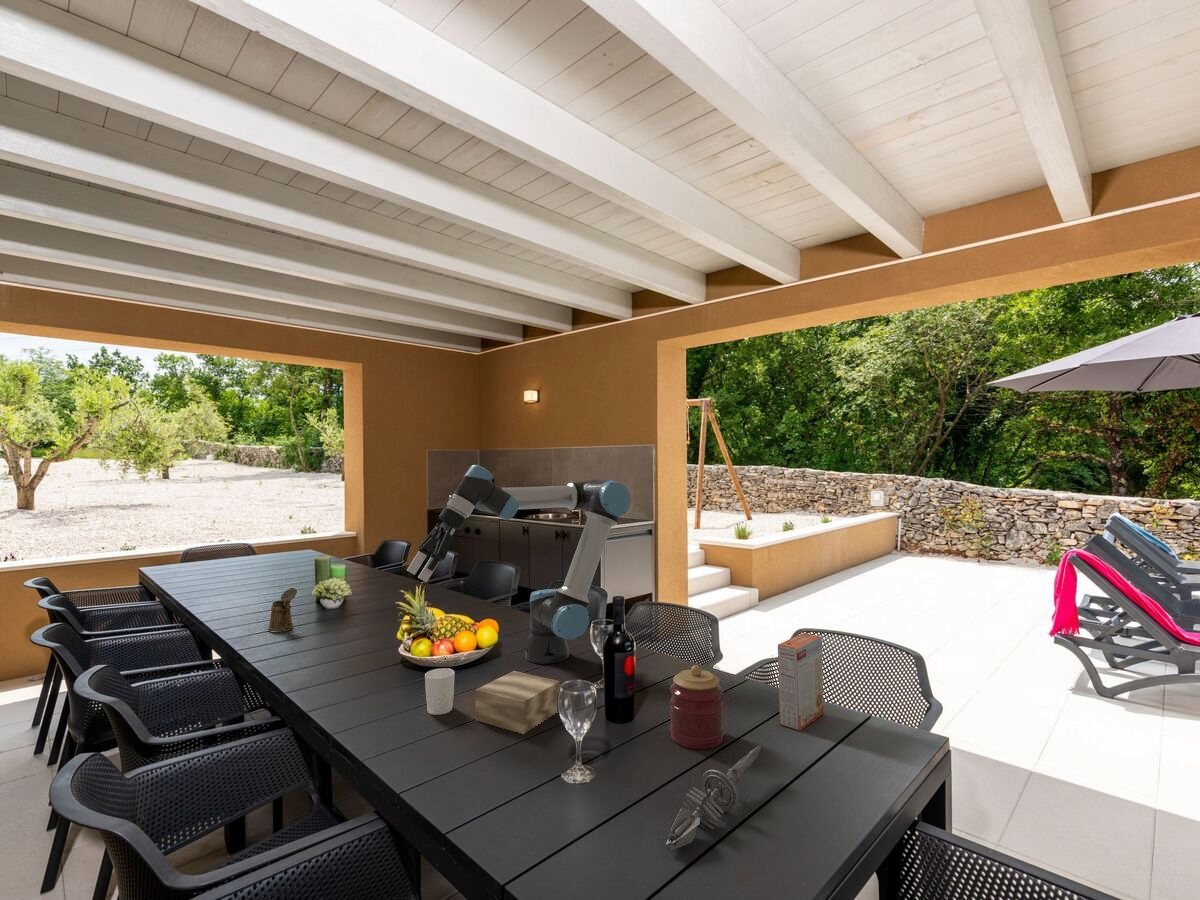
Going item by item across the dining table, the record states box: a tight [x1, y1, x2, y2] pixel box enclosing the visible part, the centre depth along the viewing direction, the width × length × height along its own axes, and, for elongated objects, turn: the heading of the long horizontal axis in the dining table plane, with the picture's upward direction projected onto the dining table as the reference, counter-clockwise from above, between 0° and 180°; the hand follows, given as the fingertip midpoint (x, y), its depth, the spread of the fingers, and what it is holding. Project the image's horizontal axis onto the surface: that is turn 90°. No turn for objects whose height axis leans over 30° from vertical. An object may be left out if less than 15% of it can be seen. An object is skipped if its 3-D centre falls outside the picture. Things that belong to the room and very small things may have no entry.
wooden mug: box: [267, 587, 298, 632], centre depth 240 cm, size 9×14×18 cm, turn 55°
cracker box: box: [777, 632, 825, 732], centre depth 155 cm, size 14×6×21 cm, turn 134°
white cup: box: [424, 667, 456, 716], centre depth 163 cm, size 8×8×10 cm
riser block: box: [474, 670, 561, 735], centre depth 159 cm, size 16×16×8 cm
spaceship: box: [665, 745, 762, 851], centre depth 116 cm, size 8×35×8 cm
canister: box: [669, 664, 725, 750], centre depth 146 cm, size 13×13×18 cm
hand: (416, 576), depth 170 cm, fingers open, 13 cm apart
